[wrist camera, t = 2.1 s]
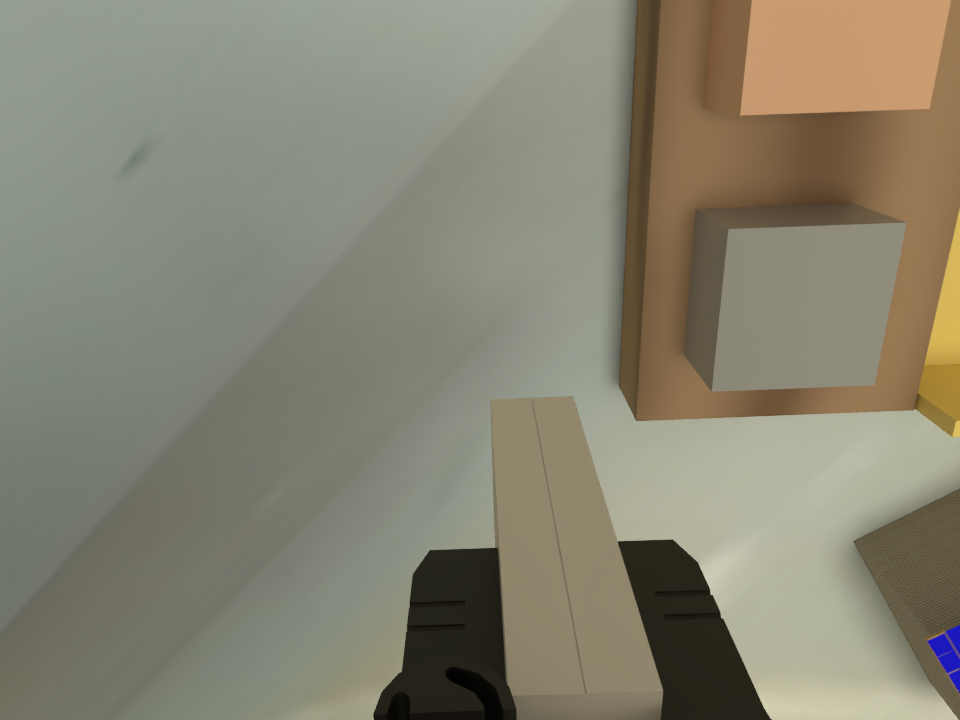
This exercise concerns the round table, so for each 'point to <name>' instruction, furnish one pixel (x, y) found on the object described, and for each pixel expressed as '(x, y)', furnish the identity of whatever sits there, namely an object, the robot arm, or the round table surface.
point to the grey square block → (790, 295)
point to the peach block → (823, 55)
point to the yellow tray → (944, 352)
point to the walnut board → (773, 182)
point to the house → (924, 586)
